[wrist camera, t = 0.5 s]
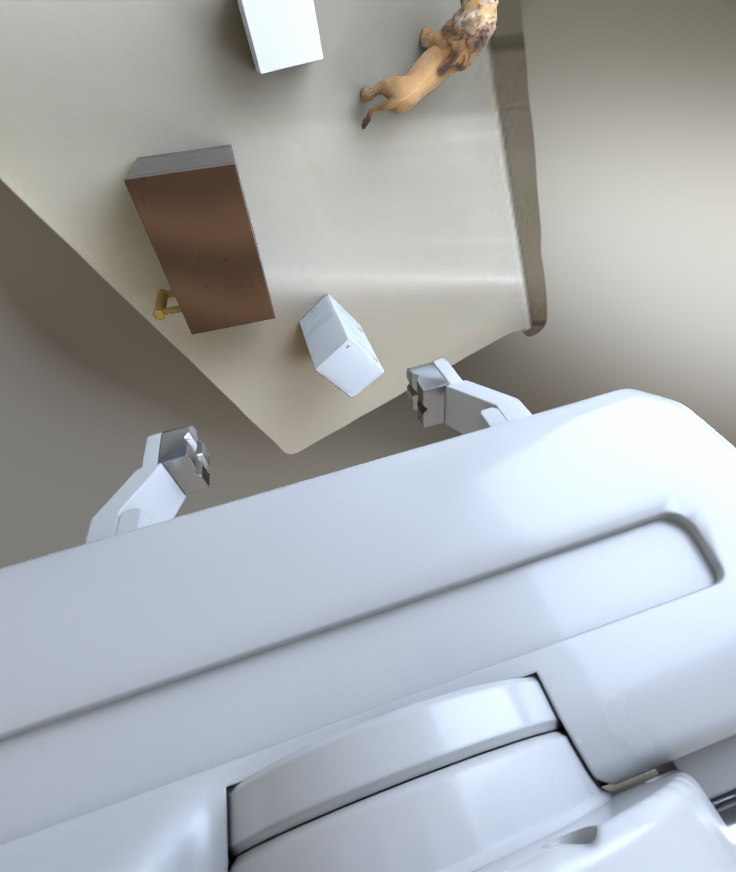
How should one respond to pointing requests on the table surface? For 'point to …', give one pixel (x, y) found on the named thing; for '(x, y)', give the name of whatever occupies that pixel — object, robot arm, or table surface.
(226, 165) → the cabinet
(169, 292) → the handled teal slab
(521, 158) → the table surface
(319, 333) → the small box
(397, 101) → the lion figurine
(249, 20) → the white cube
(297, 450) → the table surface
